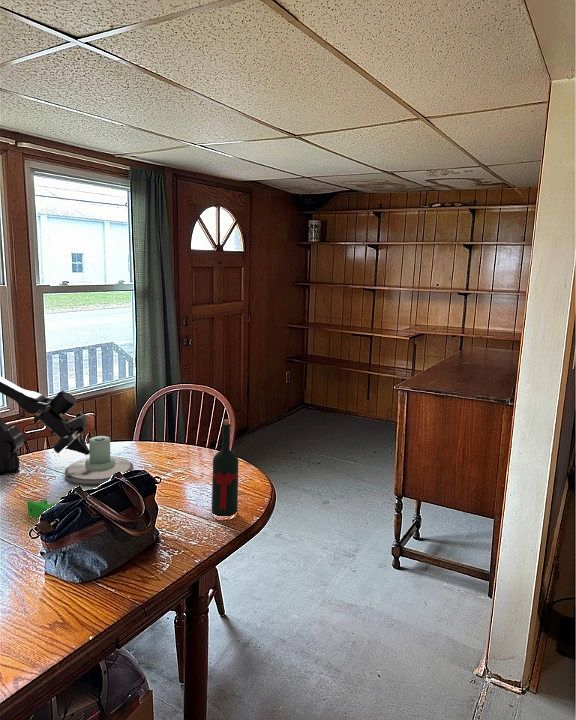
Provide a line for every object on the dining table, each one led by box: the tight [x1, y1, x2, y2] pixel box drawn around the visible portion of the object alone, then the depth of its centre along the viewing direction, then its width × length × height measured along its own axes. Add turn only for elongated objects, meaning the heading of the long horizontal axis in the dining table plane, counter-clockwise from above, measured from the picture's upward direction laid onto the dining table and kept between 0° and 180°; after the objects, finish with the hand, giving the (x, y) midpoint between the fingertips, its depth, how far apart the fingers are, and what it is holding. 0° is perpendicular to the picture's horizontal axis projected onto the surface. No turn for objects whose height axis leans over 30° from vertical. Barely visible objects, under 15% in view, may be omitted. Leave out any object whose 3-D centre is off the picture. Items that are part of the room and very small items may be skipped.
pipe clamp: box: [26, 499, 58, 520], centre depth 149 cm, size 11×4×5 cm, turn 63°
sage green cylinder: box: [85, 435, 115, 471], centre depth 182 cm, size 10×10×10 cm
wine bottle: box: [211, 418, 239, 516], centre depth 152 cm, size 8×10×30 cm
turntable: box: [64, 455, 134, 487], centre depth 183 cm, size 23×23×2 cm
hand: (89, 453), depth 182 cm, fingers closed
